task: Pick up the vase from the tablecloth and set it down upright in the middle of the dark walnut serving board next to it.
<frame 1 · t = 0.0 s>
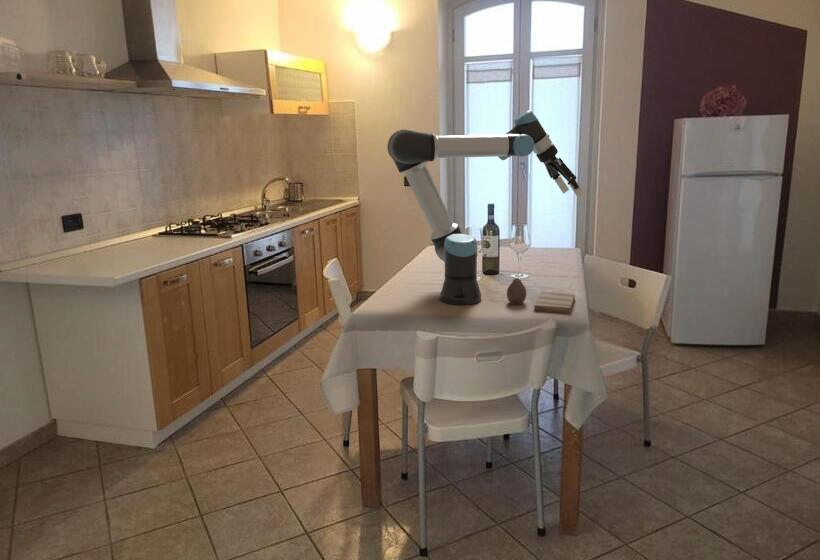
hand: (573, 193, 238), 36 cm above the table, tool tilted 35°, fingers open, 13 cm apart
walnut board: (554, 304, 218), on the table
vase: (516, 303, 221), on the table
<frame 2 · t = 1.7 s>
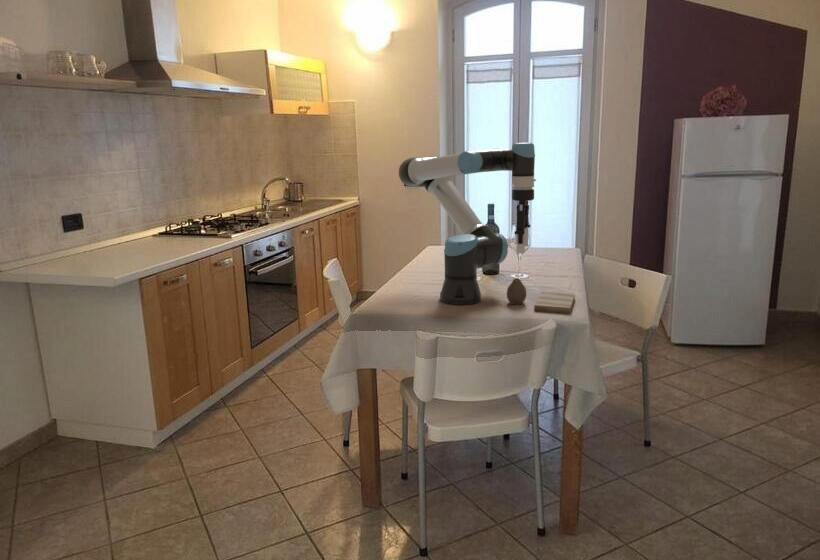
hand: (522, 249, 217), 19 cm above the table, tool pointing down, fingers open, 13 cm apart
nothing on the table moved.
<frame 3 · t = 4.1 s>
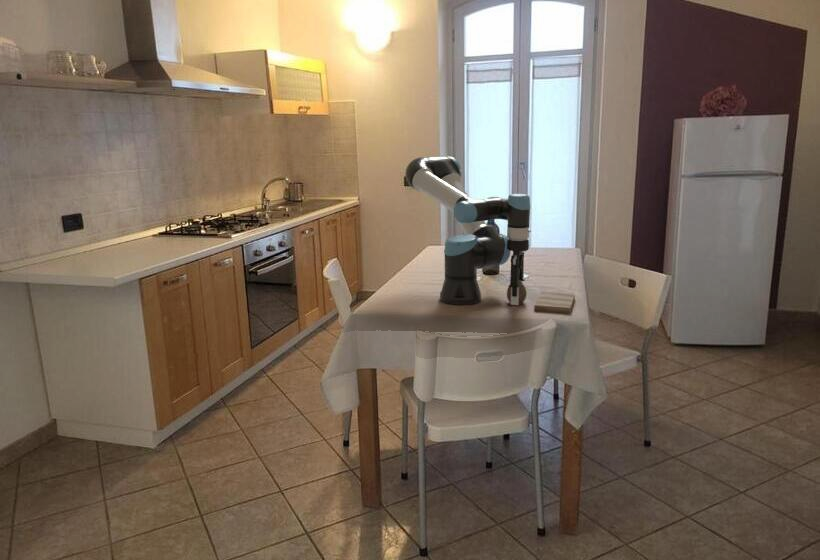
hand: (516, 301, 221), 0 cm above the table, tool pointing down, fingers closed on vase, 7 cm apart
vase: (516, 303, 221), on the table, touching gripper
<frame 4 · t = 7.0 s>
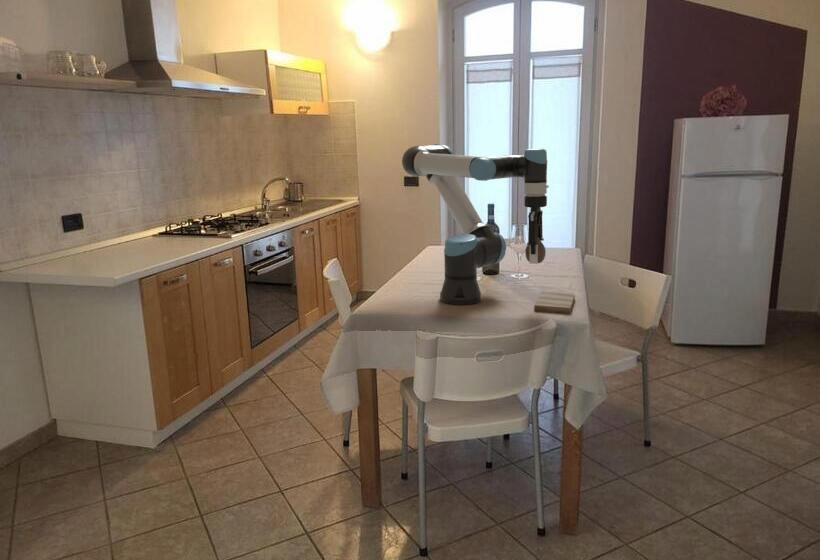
hand: (535, 261, 215), 16 cm above the table, tool pointing down, fingers closed on vase, 7 cm apart
vase: (535, 262, 215), point 15 cm above the table, touching gripper
when the fingers open (4 cm above the table, at t = 9.9 s): vase drops 1 cm, resting on walnut board.
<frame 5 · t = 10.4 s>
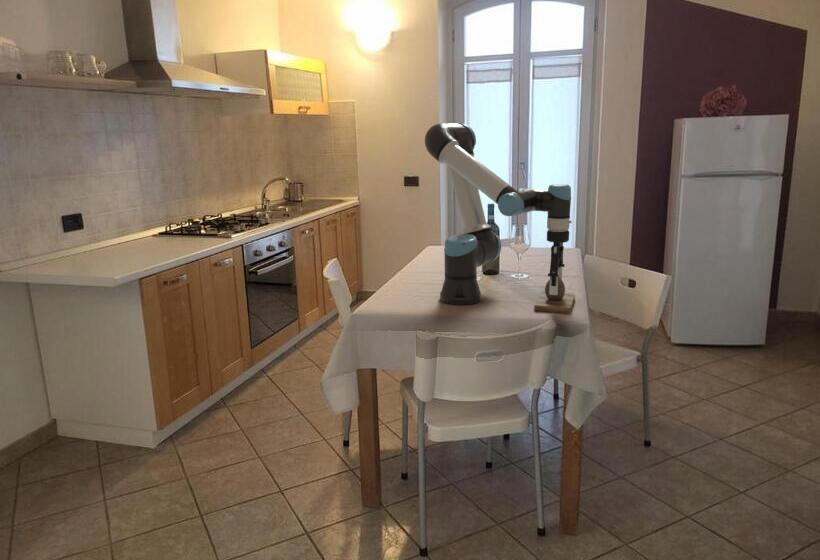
hand: (555, 289, 217), 6 cm above the table, tool pointing down, fingers open, 13 cm apart
vase: (554, 300, 218), point 2 cm above the table, touching walnut board
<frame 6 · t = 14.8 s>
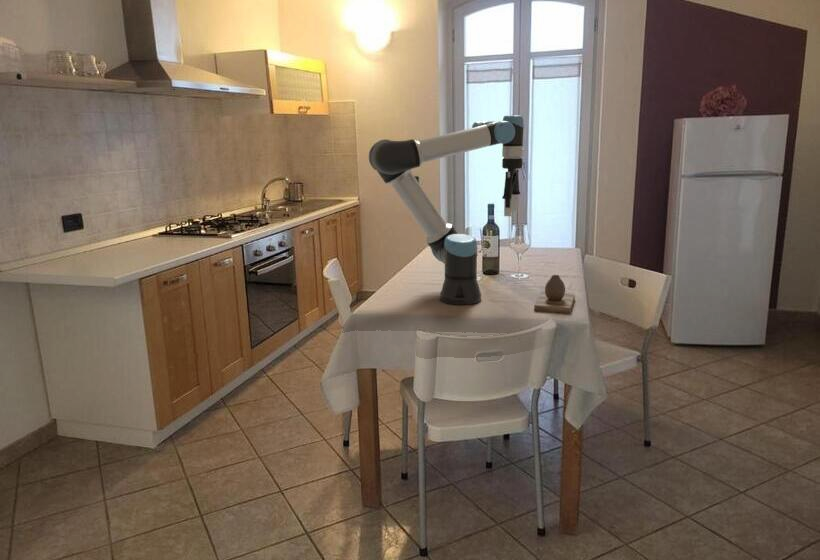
hand: (511, 213, 238), 29 cm above the table, tool pointing down, fingers open, 13 cm apart
nothing on the table moved.
at the end: vase inside the target area on the walnut board (0.3 cm from its centre), point 1.8 cm above the walnut board's base; vase tilted 0°; the gripper is holding nothing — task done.
